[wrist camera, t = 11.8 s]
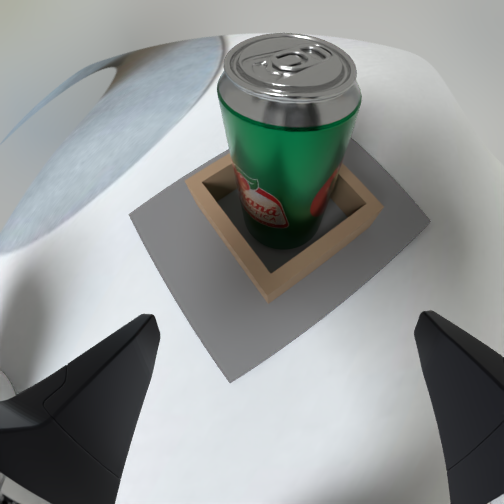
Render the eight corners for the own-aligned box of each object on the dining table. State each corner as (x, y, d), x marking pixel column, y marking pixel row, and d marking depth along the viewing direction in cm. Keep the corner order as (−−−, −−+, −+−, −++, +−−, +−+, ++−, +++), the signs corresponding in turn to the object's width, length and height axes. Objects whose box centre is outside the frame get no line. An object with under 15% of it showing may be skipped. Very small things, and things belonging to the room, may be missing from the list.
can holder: (230, 382, 16) (221, 391, 13) (130, 216, 20) (109, 195, 17) (428, 223, 18) (450, 203, 15) (312, 108, 22) (315, 80, 19)
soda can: (230, 208, 19) (187, 54, 8) (290, 173, 20) (301, 20, 8) (271, 267, 18) (271, 129, 6) (334, 227, 18) (398, 80, 7)
